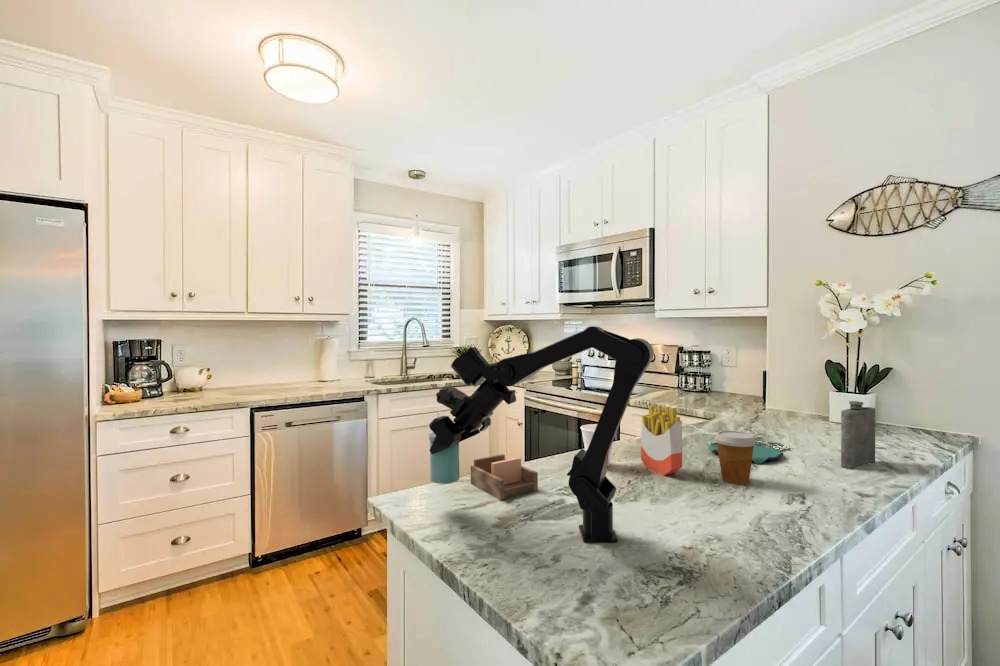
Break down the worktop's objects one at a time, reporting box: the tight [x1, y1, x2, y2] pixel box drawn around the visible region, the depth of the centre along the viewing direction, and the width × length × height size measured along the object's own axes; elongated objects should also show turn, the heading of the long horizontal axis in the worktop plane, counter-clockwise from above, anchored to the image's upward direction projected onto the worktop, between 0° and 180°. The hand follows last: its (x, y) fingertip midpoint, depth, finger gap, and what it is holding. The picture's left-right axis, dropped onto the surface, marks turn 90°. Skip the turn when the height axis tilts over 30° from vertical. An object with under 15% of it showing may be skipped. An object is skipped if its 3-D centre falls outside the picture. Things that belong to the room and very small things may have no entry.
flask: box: [840, 400, 876, 470], centre depth 134 cm, size 4×14×18 cm, turn 117°
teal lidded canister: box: [428, 431, 460, 485], centre depth 105 cm, size 7×7×10 cm
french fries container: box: [640, 404, 683, 476], centre depth 129 cm, size 5×11×18 cm, turn 28°
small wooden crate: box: [470, 453, 539, 501], centre depth 119 cm, size 14×11×6 cm
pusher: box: [491, 457, 522, 485], centre depth 118 cm, size 1×8×6 cm, turn 123°
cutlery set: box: [707, 438, 791, 465], centre depth 149 cm, size 20×30×2 cm, turn 126°
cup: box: [580, 423, 613, 467], centre depth 136 cm, size 10×10×11 cm
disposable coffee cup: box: [714, 430, 757, 485], centre depth 122 cm, size 10×10×12 cm
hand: (439, 448), depth 105 cm, fingers closed on teal lidded canister, 6 cm apart
